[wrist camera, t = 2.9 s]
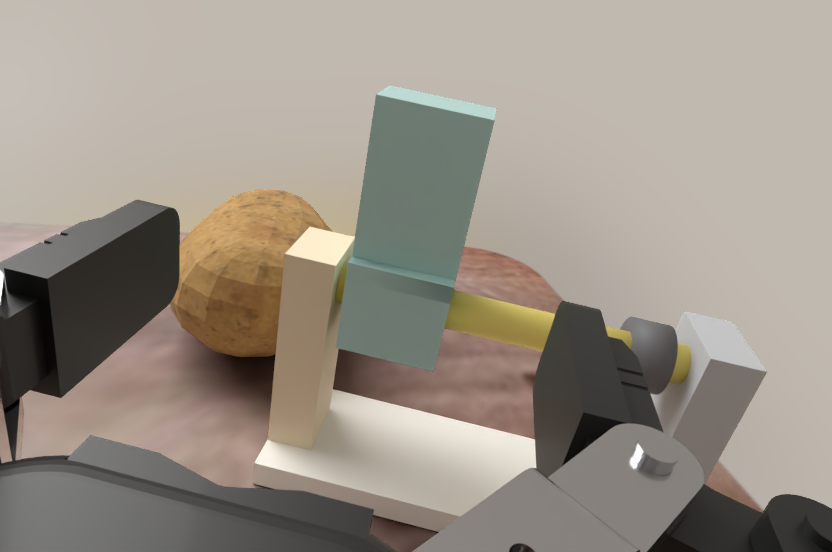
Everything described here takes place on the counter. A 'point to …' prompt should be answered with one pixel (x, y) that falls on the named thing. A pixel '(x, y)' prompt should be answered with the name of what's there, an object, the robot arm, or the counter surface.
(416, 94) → the tall teal block
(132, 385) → the counter surface
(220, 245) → the potato
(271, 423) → the stand
